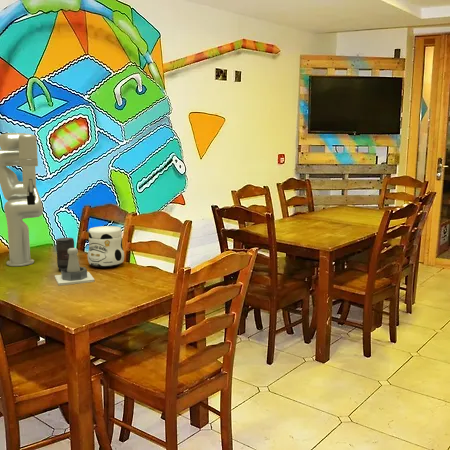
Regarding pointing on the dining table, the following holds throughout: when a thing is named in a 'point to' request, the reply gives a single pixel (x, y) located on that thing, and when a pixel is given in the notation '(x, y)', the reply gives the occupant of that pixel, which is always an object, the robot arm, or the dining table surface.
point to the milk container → (105, 246)
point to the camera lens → (63, 251)
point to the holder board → (66, 282)
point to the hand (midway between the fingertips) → (31, 204)
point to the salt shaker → (73, 260)
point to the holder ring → (74, 274)
